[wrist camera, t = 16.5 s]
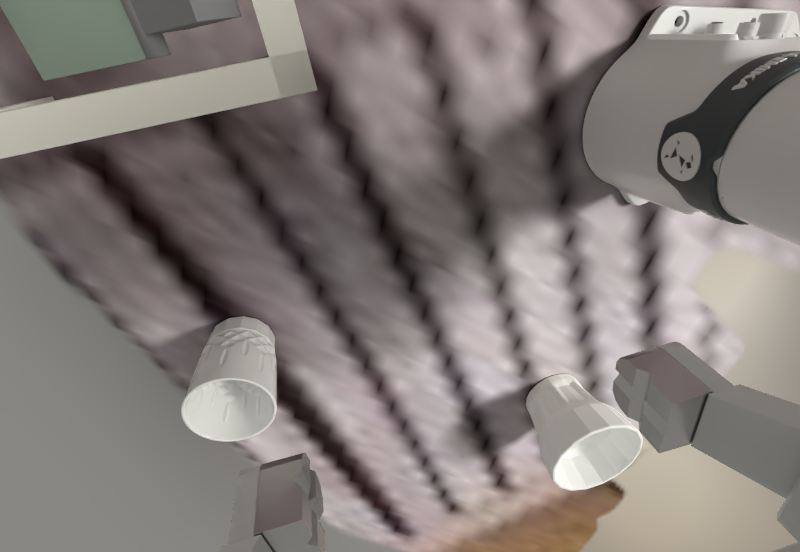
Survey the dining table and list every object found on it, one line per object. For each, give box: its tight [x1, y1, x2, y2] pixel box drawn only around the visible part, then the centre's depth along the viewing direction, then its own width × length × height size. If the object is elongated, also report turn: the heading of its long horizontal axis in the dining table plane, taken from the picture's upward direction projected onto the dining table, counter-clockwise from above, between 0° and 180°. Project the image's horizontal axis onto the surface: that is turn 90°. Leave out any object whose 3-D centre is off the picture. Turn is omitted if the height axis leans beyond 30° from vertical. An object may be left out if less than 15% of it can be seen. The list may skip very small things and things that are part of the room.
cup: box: [526, 374, 643, 491], centre depth 56 cm, size 12×12×11 cm
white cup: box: [181, 316, 277, 442], centre depth 40 cm, size 8×8×10 cm
